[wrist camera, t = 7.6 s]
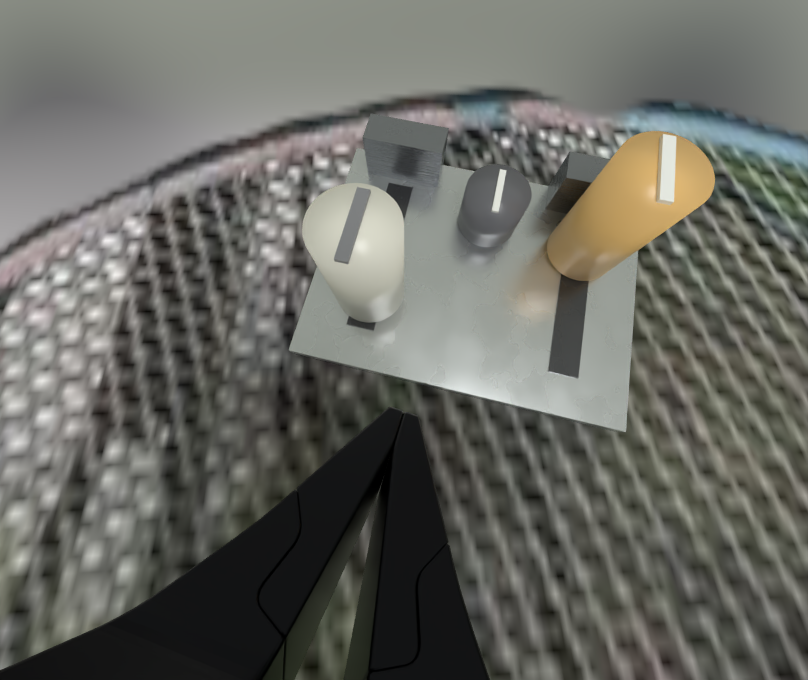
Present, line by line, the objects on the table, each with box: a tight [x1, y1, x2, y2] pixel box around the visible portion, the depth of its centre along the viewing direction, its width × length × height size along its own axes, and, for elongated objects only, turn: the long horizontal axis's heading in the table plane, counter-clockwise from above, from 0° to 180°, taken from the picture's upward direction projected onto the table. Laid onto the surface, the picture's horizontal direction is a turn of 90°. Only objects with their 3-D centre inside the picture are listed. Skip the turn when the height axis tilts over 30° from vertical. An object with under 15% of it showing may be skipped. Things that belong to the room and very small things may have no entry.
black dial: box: [458, 164, 532, 247], centre depth 20 cm, size 4×4×3 cm
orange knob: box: [547, 131, 715, 281], centre depth 17 cm, size 4×4×7 cm
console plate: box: [289, 114, 638, 432], centre depth 20 cm, size 16×21×4 cm
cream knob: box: [302, 183, 404, 323], centre depth 17 cm, size 4×4×7 cm
